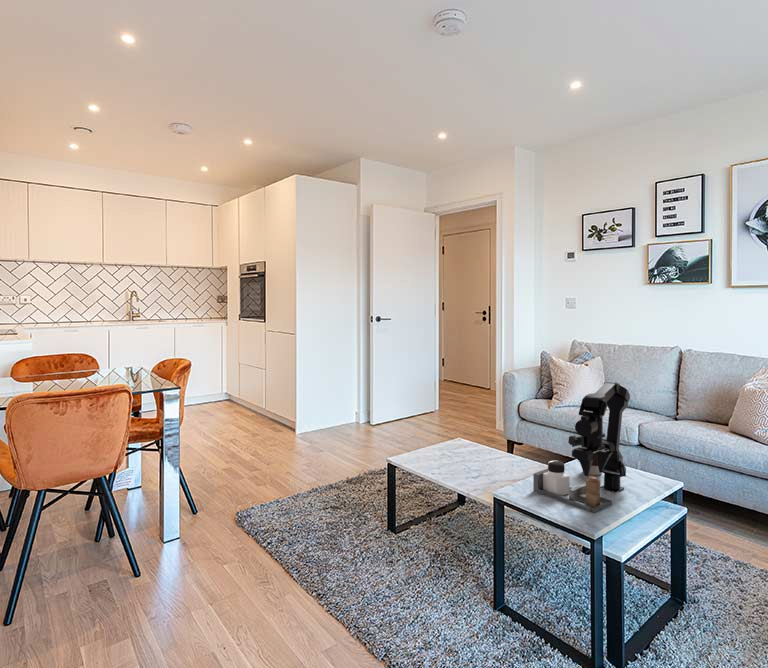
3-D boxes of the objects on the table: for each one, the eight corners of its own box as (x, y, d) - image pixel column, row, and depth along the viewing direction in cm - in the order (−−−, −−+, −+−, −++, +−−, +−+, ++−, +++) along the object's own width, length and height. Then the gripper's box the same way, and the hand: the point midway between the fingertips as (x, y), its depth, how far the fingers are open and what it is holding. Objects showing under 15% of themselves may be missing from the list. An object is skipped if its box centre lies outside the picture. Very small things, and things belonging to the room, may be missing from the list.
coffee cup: (588, 467, 218) (588, 433, 217) (609, 473, 210) (610, 438, 209) (575, 472, 212) (575, 437, 211) (596, 478, 204) (597, 442, 203)
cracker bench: (551, 484, 199) (551, 467, 198) (612, 504, 178) (612, 485, 178) (533, 491, 192) (533, 473, 191) (594, 513, 171) (594, 493, 171)
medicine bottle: (569, 493, 189) (570, 463, 188) (555, 497, 186) (556, 466, 185) (556, 487, 195) (556, 458, 194) (542, 490, 192) (542, 460, 191)
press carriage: (582, 495, 186) (582, 470, 185) (603, 503, 179) (604, 477, 178) (568, 501, 181) (569, 475, 180) (591, 509, 174) (591, 482, 173)
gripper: (587, 422, 188) (587, 462, 189) (558, 430, 177) (558, 472, 178) (616, 428, 179) (615, 470, 180) (587, 436, 168) (586, 481, 169)
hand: (593, 473), depth 177 cm, fingers open, 9 cm apart
